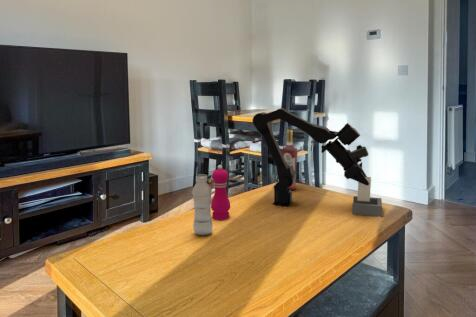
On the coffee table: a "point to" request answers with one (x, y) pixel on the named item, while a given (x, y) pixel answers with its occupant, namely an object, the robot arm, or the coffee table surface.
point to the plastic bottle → (202, 206)
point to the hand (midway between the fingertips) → (368, 183)
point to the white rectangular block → (364, 191)
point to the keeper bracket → (367, 207)
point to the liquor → (290, 154)
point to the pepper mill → (220, 195)
